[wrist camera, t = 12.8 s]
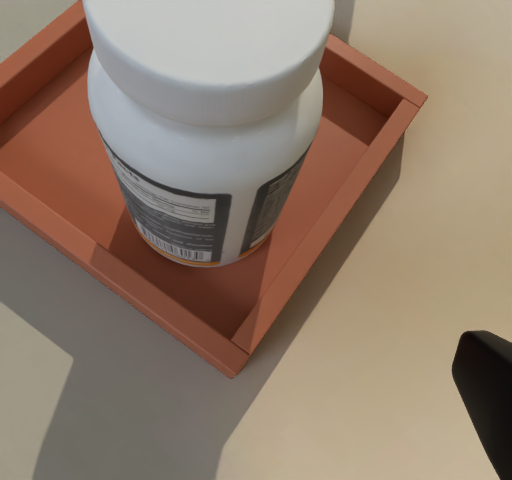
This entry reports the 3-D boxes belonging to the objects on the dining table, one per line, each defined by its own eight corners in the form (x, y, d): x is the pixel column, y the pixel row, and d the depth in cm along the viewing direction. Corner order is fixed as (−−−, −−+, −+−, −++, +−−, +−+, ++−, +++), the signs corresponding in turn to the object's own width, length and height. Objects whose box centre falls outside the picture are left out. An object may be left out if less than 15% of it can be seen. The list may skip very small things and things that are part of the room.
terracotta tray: (231, 379, 16) (236, 376, 14) (-57, 164, 17) (-89, 134, 15) (407, 124, 21) (429, 95, 19) (169, -30, 22) (166, -73, 20)
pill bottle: (236, 118, 19) (275, -153, 10) (303, 235, 18) (423, 50, 8) (104, 168, 18) (2, -94, 8) (167, 299, 16) (127, 162, 7)
